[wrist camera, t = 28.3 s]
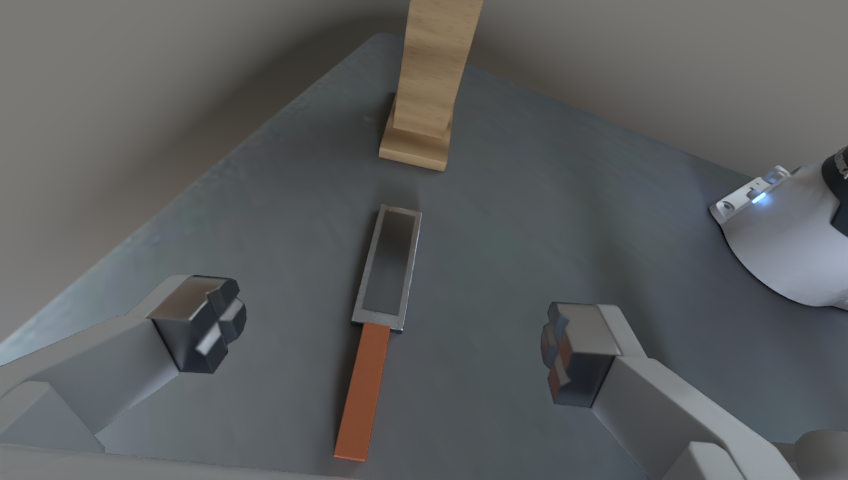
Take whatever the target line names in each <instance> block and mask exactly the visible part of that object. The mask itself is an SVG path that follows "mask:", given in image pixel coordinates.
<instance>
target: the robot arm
mask: <svg viewBox="0 0 848 480" xmlns="http://www.w3.org/2000/svg"><path fill="white" fill-rule="evenodd" d="M709 209H710V212H711V214H712V215H713V216H714V218H715V219H716V220H717V222H718V223H719V224H720V226H721V227H722V230H723V232H724V235H725V237H726V240H727V242H728V244H729V246H730V248H731V249H732V251H733V252H734V254H735V255H736V256H737V258H738V259H739V260H740V261H741V262H742V264H743V265H744V266H745V267H746V268H747V269H748V270H749V271H750V272H751V273H752V274H753V275H754V276H756V277H757V278H758V279H759V280H760V281H762V282H763V283H764V284H766V285H767V286H768V287H770V288H771V289H773V290H774V291H776V292H778V293H779V294H781V295H783V296H785V297H787V298H789V299H791V300H793V301H796V302H798V303H801V304H805V305H809V306H817V307H819V306H835V307H838V308H841V309H845V310H848V146H846V147H844V148H842V149H841V150H839V151H838V152H837V153H836V154H834V155H832V156H831V157H829V158H828V159H826V160H825V161H824V163H817V164H811V165H802V166H800V167H799V168H797V169H796V170H794V171H793V172H791V173H789V172H787V171H786V170H785V169H784V168H782V167H781V166H778V165H777V166H776V167H775V168H773V169H772V170H771V171H769V172H768V173H767V174H765V175H764V176H762V177H757V178H755V179H754V180H752V181H750V182H749V183H747V184H745V185H744V186H742V187H740V188H739V189H737V190H736V191H734V192H732V193H731V194H729V195H728V196H726V197H724V198H723V199H721V200H720V201H718V202H716V203H715V204H713V205H711V206H710V208H709ZM239 291H240V289H239V287H238V284H237V282H236V280H233V279H231V278H222V277H212V276H201V275H187V274H174V275H170V276H169V277H168V278H166V279H165V280H164V281H163V282H162V283H161V284H160V285H158V286H157V287H156V288H155V289H154V290H153V291H152V292H150V293H149V294H148V295H147V296H146V297H145V298H144V299H143V300H141V301H140V302H139V303H138V304H137V305H136V306H135V307H133V308H132V309H131V310H130V311H129V312H128V313H127V314H125V315H124V316H116V317H114V318H111V319H109V320H107V321H104V322H102V323H100V324H97V325H95V326H93V327H90V328H88V329H86V330H83V331H81V332H79V333H77V334H74V335H72V336H70V337H67V338H65V339H63V340H60V341H58V342H56V343H53V344H51V345H49V346H46V347H44V348H42V349H39V350H37V351H35V352H32V353H30V354H28V355H26V356H23V357H21V358H19V359H16V360H14V361H12V362H9V363H7V364H5V365H2V366H0V480H363V479H354V478H344V477H334V476H324V475H314V474H305V473H295V472H285V471H275V470H265V469H256V468H246V467H236V466H226V465H216V464H207V463H197V462H187V461H177V460H168V459H158V458H148V457H138V456H128V455H119V454H109V453H105V447H104V446H103V445H102V444H101V443H100V441H99V440H98V439H97V438H96V437H95V436H94V435H95V434H96V433H97V432H99V431H100V430H102V429H103V428H104V427H106V426H107V425H109V424H110V423H111V422H113V421H114V420H116V419H117V418H118V417H120V416H121V415H123V414H124V413H125V412H127V411H128V410H130V409H131V408H132V407H134V406H135V405H137V404H138V403H139V402H141V401H142V400H144V399H145V398H146V397H148V396H149V395H151V394H152V393H153V392H155V391H156V390H158V389H159V388H160V387H162V386H163V385H165V384H166V383H167V382H169V381H170V380H172V379H173V378H174V377H176V376H177V375H179V374H180V372H193V373H210V374H213V373H214V372H215V370H216V369H217V368H218V366H219V365H220V363H221V362H222V360H223V359H224V358H225V356H226V355H227V353H228V347H227V345H228V344H229V343H231V342H233V341H234V340H236V339H238V337H239V336H240V334H241V333H242V331H243V329H244V326H245V323H246V319H247V316H246V308H245V305H244V303H243V302H242V301H241V300H240V299H239V298H238V297H236V296H237V295H238V293H239ZM547 314H548V317H549V321H550V322H549V323H547V324H546V325H545V326H544V327H543V331H542V335H541V354H542V359H543V363H544V364H545V365H546V366H547V367H548V368H549V369H550V373H549V376H548V383H549V387H550V391H551V394H552V398H553V402H554V404H561V405H569V406H578V407H587V408H591V411H592V412H593V413H594V414H595V416H596V417H597V418H598V419H599V420H600V421H601V423H602V424H603V425H604V426H605V427H606V428H607V430H608V431H609V432H610V433H611V434H612V435H613V437H614V438H615V439H616V440H617V441H618V442H619V444H620V445H621V446H622V447H623V448H624V450H625V451H626V452H627V453H628V454H629V455H630V457H631V458H632V459H633V460H634V461H635V462H636V464H637V465H638V466H639V467H640V468H641V469H642V471H643V472H644V473H645V474H646V475H647V476H648V478H649V479H650V480H800V479H799V477H798V476H797V475H796V473H795V472H794V471H793V469H792V468H791V467H790V465H789V464H788V463H787V461H786V460H785V459H784V457H783V456H782V455H781V453H780V452H779V450H778V449H777V448H776V447H775V446H773V445H772V444H771V443H769V442H768V441H767V440H765V439H764V438H763V437H761V436H760V435H758V434H757V433H756V432H754V431H753V430H752V429H750V428H749V427H747V426H746V425H745V424H743V423H742V422H741V421H739V420H738V419H736V418H735V417H734V416H732V415H731V414H730V413H728V412H727V411H726V410H724V409H723V408H721V407H720V406H719V405H717V404H716V403H715V402H713V401H712V400H710V399H709V398H708V397H706V396H705V395H704V394H702V393H701V392H700V391H698V390H697V389H695V388H694V387H693V386H691V385H690V384H689V383H687V382H686V381H684V380H683V379H682V378H680V377H679V376H678V375H676V374H675V373H674V372H672V371H671V370H669V369H668V368H667V367H665V366H664V365H663V364H661V363H660V362H658V361H657V360H656V359H650V358H648V357H647V355H646V354H645V352H644V350H643V348H642V347H641V345H640V343H639V342H638V340H637V338H636V336H635V335H634V333H633V331H632V329H631V328H630V326H629V324H628V322H627V321H626V319H625V317H624V315H623V314H622V312H621V310H620V308H619V307H617V306H616V305H604V304H594V305H593V304H581V303H565V302H552V303H551V305H550V306H549V310H548V313H547Z"/></svg>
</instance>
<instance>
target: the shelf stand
mask: <svg viewBox="0 0 848 480" xmlns="http://www.w3.org/2000/svg"><path fill="white" fill-rule="evenodd" d="M483 1H484V0H410V5H409V12H408V20H407V26H406V34H405V41H404V48H403V55H402V63H401V70H400V77H399V84H398V88H397V92H396V95H395V98H394V101H393V105H392V108H391V111H390V115H389V118H388V121H387V125H386V128H385V131H384V135H383V138H382V141H381V145H380V148H379V157H381V158H385V159H389V160H394V161H398V162H403V163H407V164H411V165H416V166H420V167H424V168H429V169H433V170H437V171H442V172H444V170H445V167H446V164H447V157H448V149H449V141H450V133H451V125H452V117H453V109H454V101H455V98H456V94H457V91H458V87H459V84H460V80H461V77H462V74H463V70H464V67H465V63H466V60H467V56H468V53H469V49H470V46H471V43H472V39H473V36H474V32H475V29H476V25H477V22H478V19H479V15H480V12H481V8H482V5H483Z"/></svg>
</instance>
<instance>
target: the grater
mask: <svg viewBox="0 0 848 480" xmlns="http://www.w3.org/2000/svg"><path fill="white" fill-rule="evenodd" d="M421 217H422V213H421V212H417V211H412V210H408V209H403V208H398V207H394V206H389V205H385V204H381V206H380V210H379V214H378V217H377V221H376V225H375V229H374V233H373V237H372V241H371V245H370V249H369V253H368V256H367V260H366V264H365V268H364V272H363V276H362V280H361V284H360V288H359V291H358V295H357V299H356V303H355V307H354V311H353V315H352V319H351V325H356V326H361V327H363V329H362V334H361V338H360V342H359V347H358V351H357V355H356V360H355V364H354V368H353V372H352V377H351V381H350V385H349V390H348V394H347V398H346V402H345V407H344V411H343V415H342V420H341V424H340V428H339V433H338V437H337V441H336V445H335V450H334V454H333V456H334V457H336V458H342V459H349V460H355V461H362V462H365V461H366V457H367V452H368V447H369V441H370V436H371V430H372V425H373V420H374V414H375V409H376V403H377V398H378V393H379V387H380V382H381V376H382V371H383V365H384V360H385V355H386V349H387V344H388V338H389V333H390V332H393V333H399V334H402V332H403V328H404V322H405V316H406V310H407V303H408V297H409V291H410V285H411V279H412V273H413V266H414V260H415V254H416V248H417V242H418V236H419V229H420V223H421Z"/></svg>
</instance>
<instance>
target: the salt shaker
mask: <svg viewBox="0 0 848 480" xmlns="http://www.w3.org/2000/svg"><path fill="white" fill-rule="evenodd" d="M769 443H771V444H772V445H773V446H775V447H776V448H777V449H778V450H779V452H780V453H781V455H782V456H783V457H784V459H785V460H786V461H787V463H788V464H789V465H790V467H791V468H792V469H793V471H794V472H795V473H796V475H797V476H798V477H799V479H800V480H848V431H830V430H816V431H811V432H807V433H805V434H804V435H802V436H801V437H800V438H799V439H798V440H797V441H796V442H795V444H786V443H776V442H769Z"/></svg>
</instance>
